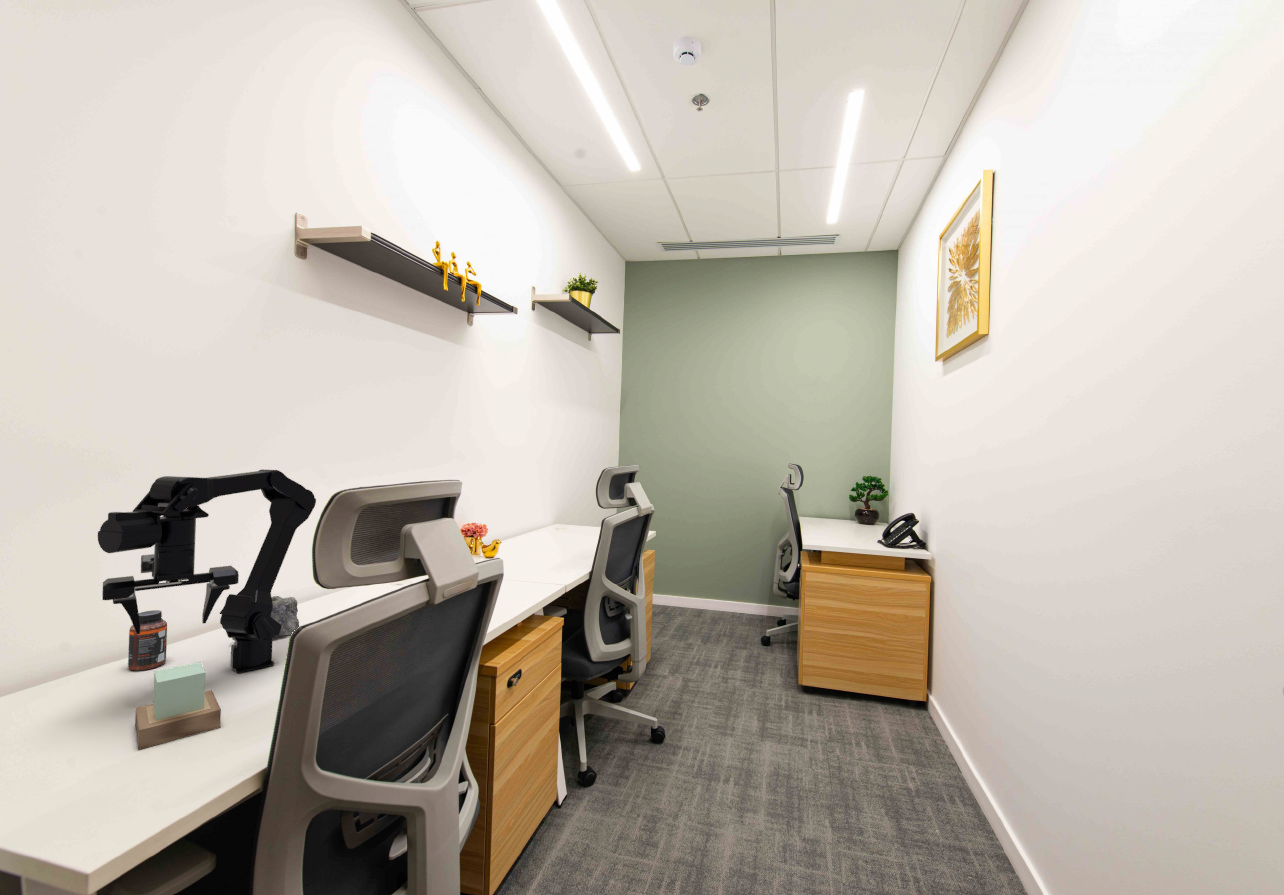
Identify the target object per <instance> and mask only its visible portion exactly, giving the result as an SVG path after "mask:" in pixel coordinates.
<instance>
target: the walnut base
mask: <svg viewBox="0 0 1284 895" xmlns="http://www.w3.org/2000/svg"><path fill="white" fill-rule="evenodd" d="M221 713H222V708H221V707H220V705H219V702H218V701H217V698H216V696H215V693H214V691H213V690H212V689H211V690H205V699H204V709H200V710H196V711H192V712H188V713H184V714H180V715H176V716H172V717H168V718H164V719H160V720H156V719H155V714H154V709H153V703H149V704H145V705H142V706H137V707H135V717H134V721H135V722H134V726H135V728H134V729H135V734H136V742H137V748H138V749H137V750H138V751H139V750H143V749H146V748H150V747H154V746H158V745H162V744H165V743H169V742H173V741H176V740H179V739H182V738H183V739H184V738H186V737H191V736H193V735H194V736H195V735H198V734H201V733H205V732H209V731H212V730H216V729H219V728H221V722H222V721H221V717H222V716H221V715H222V714H221Z"/></svg>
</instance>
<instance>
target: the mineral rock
mask: <svg viewBox="0 0 1284 895" xmlns="http://www.w3.org/2000/svg"><path fill="white" fill-rule="evenodd" d="M271 597H272V603H273V609H272V613H271V617H272V618H273V619H274V620H276V621H277V622H278V623H280V624H281V625H282V627H281V630H280V633H279V635H278V636H277V637H280V636H284V635H285V636H287V635H288V636H289V635H293V634H292V632H294V630H296V629H297V628H298V627H299V628H300V620H299V619H298V612H299V610H298V601H297V599H296V598H295V597H294V596H289V597H284V598H283V597H281V596H279V595H275V596H271ZM231 639H232V641H234V642H235V638H231Z"/></svg>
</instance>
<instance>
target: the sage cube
mask: <svg viewBox="0 0 1284 895" xmlns="http://www.w3.org/2000/svg"><path fill="white" fill-rule="evenodd" d="M205 691H206V671H205V669H204V667H203V664H202V662H201V661H198V662H194V663H190V664H184V665H179V666H172V667H169V668H165V669H159V670H154V673H153V698H152V699H153V700H152V704H153V709H154V714H155V719H156V720H160V719H164V718H168V717H172V716H176V715H180V714H184V713H188V712H192V711H196V710H200V709H204V699H205Z"/></svg>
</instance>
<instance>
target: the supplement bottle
mask: <svg viewBox="0 0 1284 895" xmlns="http://www.w3.org/2000/svg"><path fill="white" fill-rule="evenodd" d="M162 612H163V611H162V610H159V609H155V610H154V609H153V610H144V611H141V612H138V613H139V620H140V634H137V633H136V631H135V628H134V626H133V624H132V625H131V626H130V627H129V631H128V632H129V633H128V652H127V653H128V661H127V667H128V668H127V669H129V670H130V671H145V670H150V669H151V670H152V669H154V668H158V667H161V666H162V665H164V664H165V663H166V661H167V645H168V644H167V641H168V640H167V639H168V638H167V637H168V622H167V621H166V620H164V619H163V618H162V617H163V615H162Z"/></svg>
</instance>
